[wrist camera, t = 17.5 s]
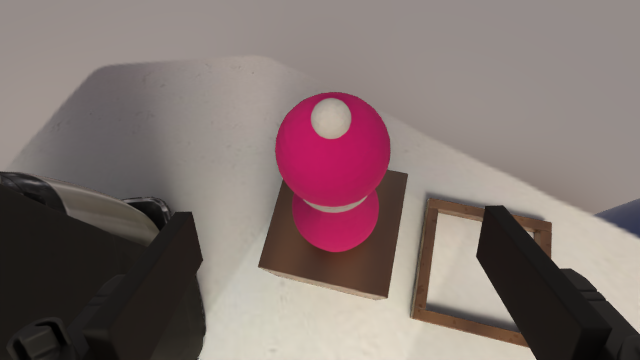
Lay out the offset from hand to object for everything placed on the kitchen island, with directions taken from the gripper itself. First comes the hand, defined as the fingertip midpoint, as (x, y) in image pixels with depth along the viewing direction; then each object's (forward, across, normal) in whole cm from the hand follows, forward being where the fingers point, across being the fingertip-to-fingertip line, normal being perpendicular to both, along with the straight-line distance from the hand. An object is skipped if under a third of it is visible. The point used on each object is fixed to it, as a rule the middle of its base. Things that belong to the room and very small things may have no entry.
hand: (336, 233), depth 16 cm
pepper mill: (+15, 0, -9) cm, 18 cm away
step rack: (+21, +9, -17) cm, 28 cm away
